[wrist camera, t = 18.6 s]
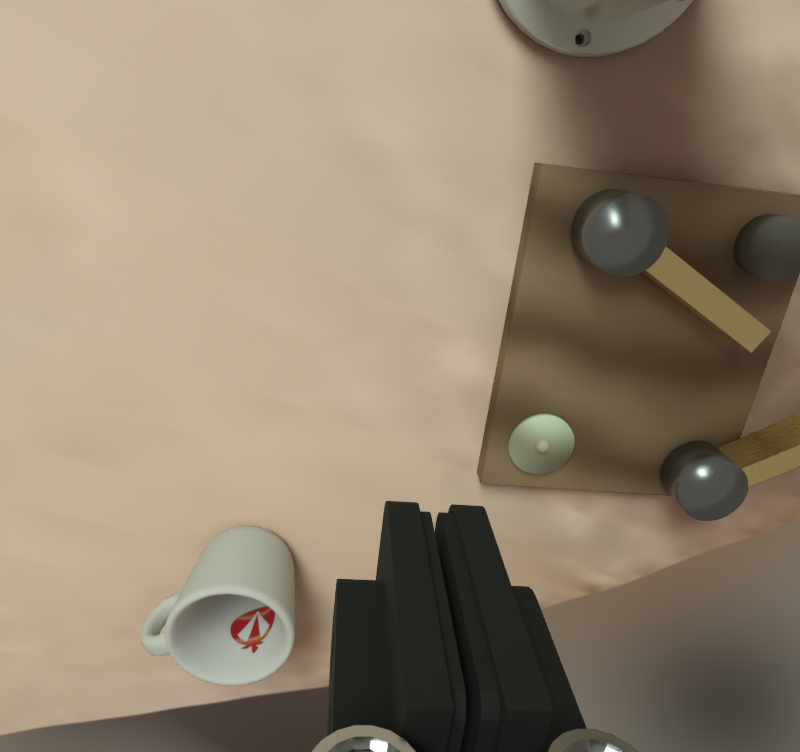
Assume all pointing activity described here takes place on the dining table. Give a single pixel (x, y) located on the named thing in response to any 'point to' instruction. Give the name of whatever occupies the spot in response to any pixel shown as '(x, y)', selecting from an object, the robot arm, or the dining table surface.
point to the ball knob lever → (655, 259)
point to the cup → (230, 611)
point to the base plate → (631, 336)
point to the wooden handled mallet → (729, 468)
